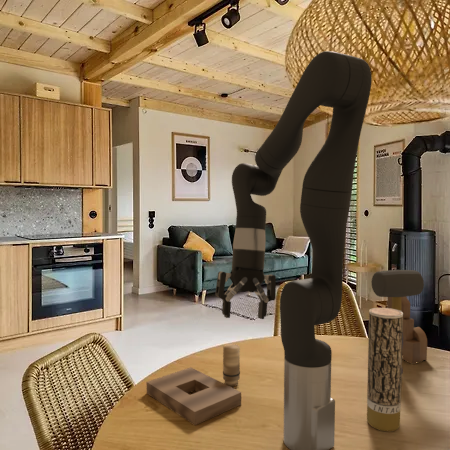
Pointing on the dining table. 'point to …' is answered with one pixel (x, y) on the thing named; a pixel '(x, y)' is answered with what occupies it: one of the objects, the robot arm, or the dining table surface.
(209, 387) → the board
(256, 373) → the dining table surface
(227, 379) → the peg
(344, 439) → the dining table surface
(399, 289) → the rubber mallet
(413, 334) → the wooden toy
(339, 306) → the robot arm
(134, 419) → the dining table surface
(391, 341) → the paper tube
